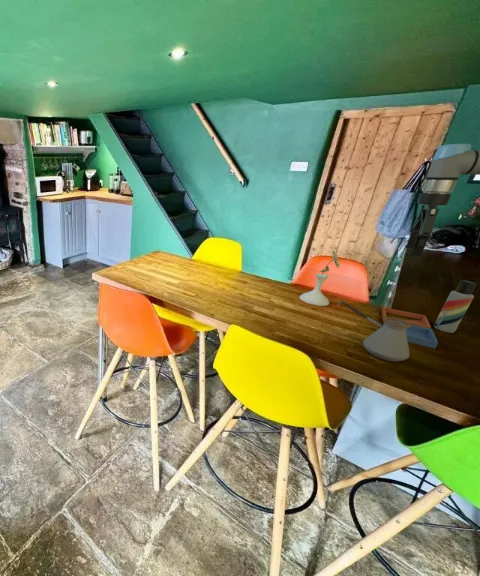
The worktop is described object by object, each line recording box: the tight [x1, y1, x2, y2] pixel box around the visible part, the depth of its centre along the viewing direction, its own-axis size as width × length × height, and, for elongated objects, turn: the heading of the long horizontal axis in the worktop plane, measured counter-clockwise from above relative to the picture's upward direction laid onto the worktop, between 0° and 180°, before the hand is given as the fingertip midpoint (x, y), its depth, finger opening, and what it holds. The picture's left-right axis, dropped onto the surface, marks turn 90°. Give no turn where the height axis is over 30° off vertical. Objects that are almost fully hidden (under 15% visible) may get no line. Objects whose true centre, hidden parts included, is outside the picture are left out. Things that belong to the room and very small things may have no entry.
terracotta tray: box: [380, 306, 432, 329], centre depth 121 cm, size 13×12×2 cm
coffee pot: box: [337, 300, 411, 362], centre depth 100 cm, size 21×12×15 cm, turn 44°
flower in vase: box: [299, 250, 341, 307], centre depth 135 cm, size 13×11×25 cm
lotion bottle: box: [433, 279, 477, 334], centre depth 112 cm, size 6×6×20 cm
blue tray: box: [382, 321, 439, 350], centre depth 111 cm, size 13×12×2 cm
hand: (412, 251), depth 113 cm, fingers open, 13 cm apart
